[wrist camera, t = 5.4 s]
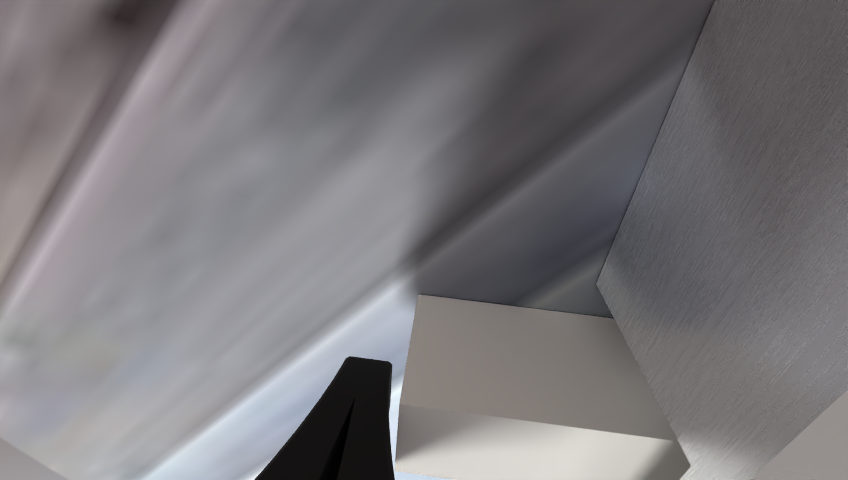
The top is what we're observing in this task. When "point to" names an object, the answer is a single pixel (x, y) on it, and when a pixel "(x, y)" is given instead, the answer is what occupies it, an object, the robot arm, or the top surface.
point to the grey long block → (747, 247)
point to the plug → (527, 398)
